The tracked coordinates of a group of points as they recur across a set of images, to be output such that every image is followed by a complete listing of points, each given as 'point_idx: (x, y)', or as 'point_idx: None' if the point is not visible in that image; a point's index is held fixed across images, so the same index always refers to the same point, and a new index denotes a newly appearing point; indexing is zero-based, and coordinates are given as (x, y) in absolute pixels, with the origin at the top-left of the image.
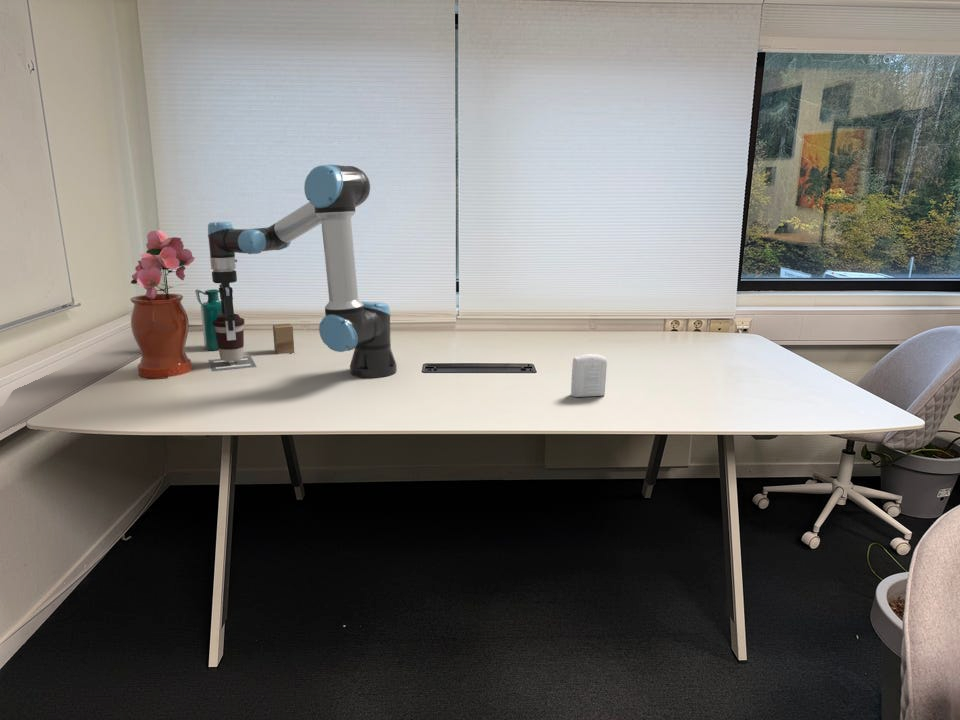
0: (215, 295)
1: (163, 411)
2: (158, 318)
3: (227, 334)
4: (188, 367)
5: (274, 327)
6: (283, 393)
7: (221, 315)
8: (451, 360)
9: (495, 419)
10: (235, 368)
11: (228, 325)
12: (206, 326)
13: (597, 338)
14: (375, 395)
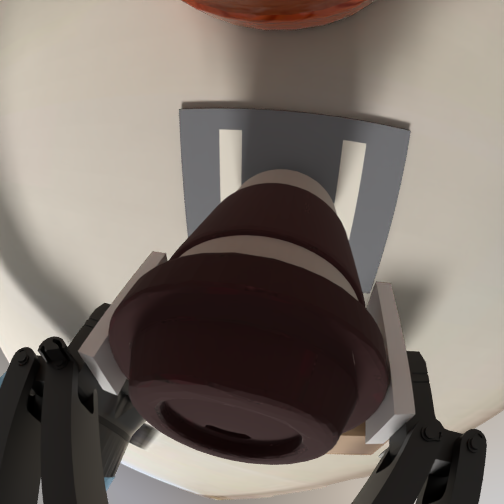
0: None
1: None
2: None
3: (134, 279)
4: (210, 14)
5: (356, 433)
6: (11, 250)
7: (273, 418)
8: (166, 442)
9: (5, 349)
10: (192, 201)
11: (80, 330)
12: None
13: (216, 487)
14: (27, 332)
